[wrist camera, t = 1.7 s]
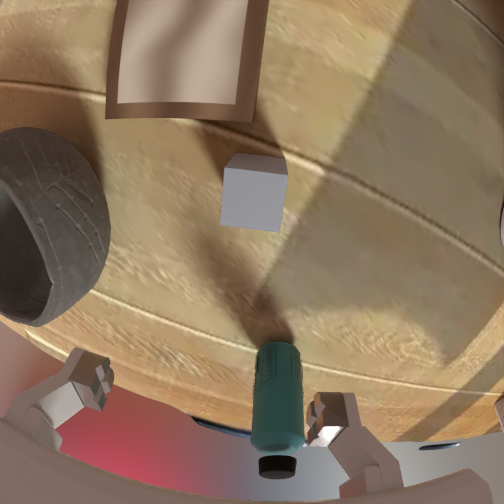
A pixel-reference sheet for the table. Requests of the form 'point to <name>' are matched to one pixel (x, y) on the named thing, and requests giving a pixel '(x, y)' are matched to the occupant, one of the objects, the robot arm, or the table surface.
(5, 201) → the bowl
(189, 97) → the base
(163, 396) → the table surface
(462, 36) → the table surface
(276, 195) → the block
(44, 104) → the table surface
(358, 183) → the table surface
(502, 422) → the small box
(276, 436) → the beverage bottle
